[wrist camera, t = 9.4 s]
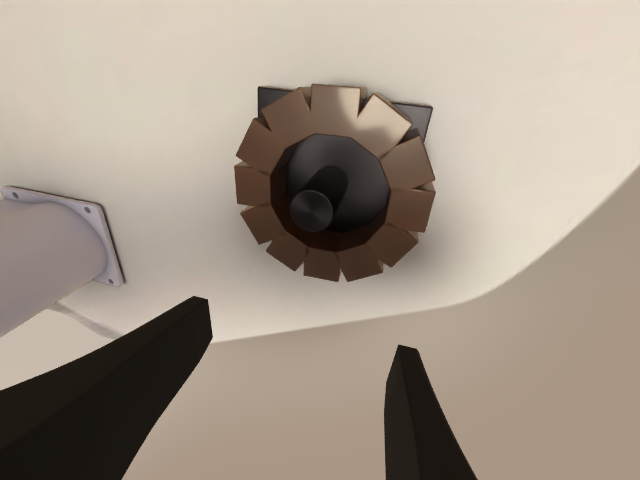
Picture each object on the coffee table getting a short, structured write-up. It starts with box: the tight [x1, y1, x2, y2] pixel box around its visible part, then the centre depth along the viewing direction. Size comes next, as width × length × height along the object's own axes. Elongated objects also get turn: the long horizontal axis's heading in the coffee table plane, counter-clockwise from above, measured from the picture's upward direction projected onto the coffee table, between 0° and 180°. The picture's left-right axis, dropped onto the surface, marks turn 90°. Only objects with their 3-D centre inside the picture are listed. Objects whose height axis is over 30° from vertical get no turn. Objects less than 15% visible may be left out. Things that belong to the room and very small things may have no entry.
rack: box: [258, 86, 433, 233], centre depth 15 cm, size 9×9×6 cm
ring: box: [234, 84, 436, 282], centre depth 15 cm, size 10×10×2 cm
